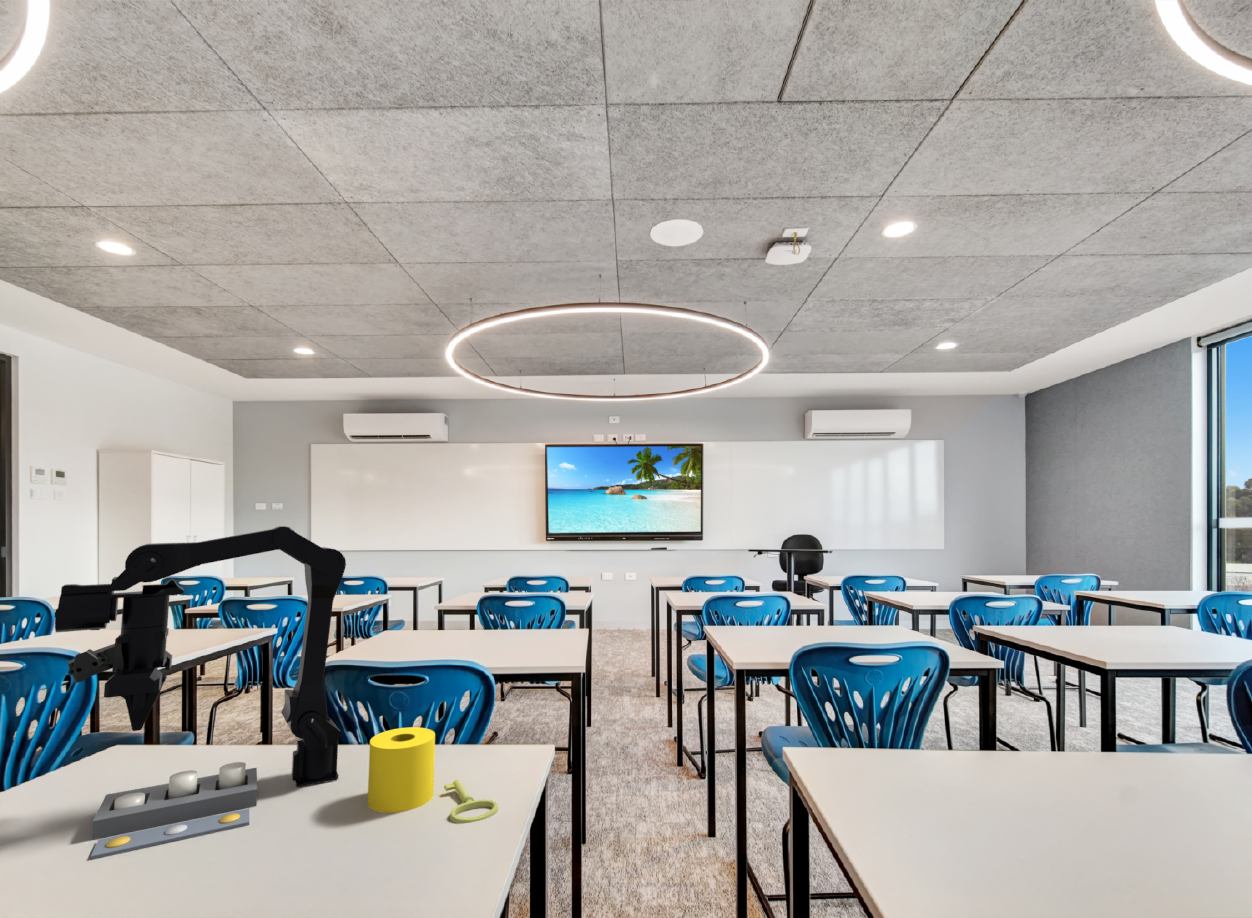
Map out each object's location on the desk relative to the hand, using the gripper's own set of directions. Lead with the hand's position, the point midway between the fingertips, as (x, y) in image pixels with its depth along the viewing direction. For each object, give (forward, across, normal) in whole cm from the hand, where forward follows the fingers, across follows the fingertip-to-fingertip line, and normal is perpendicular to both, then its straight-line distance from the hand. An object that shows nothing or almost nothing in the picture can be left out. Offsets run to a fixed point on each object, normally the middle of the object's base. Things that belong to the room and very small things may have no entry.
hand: (137, 729), depth 95 cm
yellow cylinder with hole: (+13, +14, +36) cm, 41 cm away
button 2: (+11, 0, +13) cm, 17 cm away
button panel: (+13, 0, +6) cm, 14 cm away
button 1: (+13, 0, 0) cm, 13 cm away
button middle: (+11, 0, +6) cm, 13 cm away
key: (+14, +22, +44) cm, 52 cm away
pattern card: (+13, +9, +6) cm, 17 cm away
